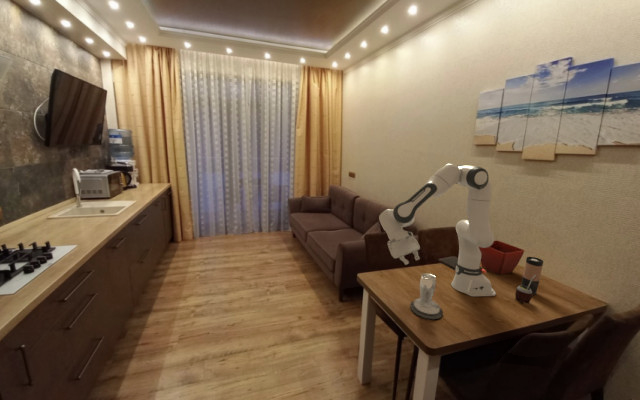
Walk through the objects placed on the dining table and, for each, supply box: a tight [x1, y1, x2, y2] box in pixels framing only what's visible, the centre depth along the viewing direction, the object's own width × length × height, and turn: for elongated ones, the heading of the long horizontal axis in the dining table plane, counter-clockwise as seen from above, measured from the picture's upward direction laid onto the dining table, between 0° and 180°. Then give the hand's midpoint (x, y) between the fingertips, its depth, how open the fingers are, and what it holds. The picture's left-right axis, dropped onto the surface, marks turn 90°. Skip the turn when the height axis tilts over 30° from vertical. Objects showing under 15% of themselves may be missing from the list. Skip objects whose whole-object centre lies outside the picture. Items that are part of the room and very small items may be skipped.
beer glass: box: [419, 272, 437, 308], centre depth 131 cm, size 7×7×15 cm
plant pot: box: [479, 240, 525, 276], centre depth 181 cm, size 19×19×17 cm
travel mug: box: [520, 256, 544, 296], centre depth 153 cm, size 8×8×20 cm
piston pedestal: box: [409, 297, 444, 321], centre depth 132 cm, size 15×15×3 cm
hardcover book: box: [437, 255, 458, 271], centre depth 185 cm, size 16×23×2 cm
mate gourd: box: [514, 275, 536, 305], centre depth 143 cm, size 8×8×15 cm
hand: (412, 261), depth 136 cm, fingers open, 8 cm apart
